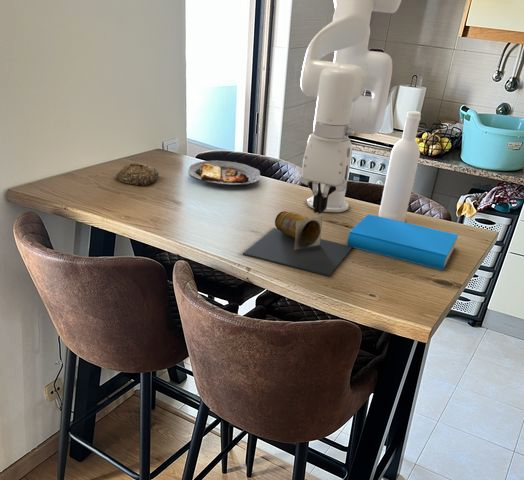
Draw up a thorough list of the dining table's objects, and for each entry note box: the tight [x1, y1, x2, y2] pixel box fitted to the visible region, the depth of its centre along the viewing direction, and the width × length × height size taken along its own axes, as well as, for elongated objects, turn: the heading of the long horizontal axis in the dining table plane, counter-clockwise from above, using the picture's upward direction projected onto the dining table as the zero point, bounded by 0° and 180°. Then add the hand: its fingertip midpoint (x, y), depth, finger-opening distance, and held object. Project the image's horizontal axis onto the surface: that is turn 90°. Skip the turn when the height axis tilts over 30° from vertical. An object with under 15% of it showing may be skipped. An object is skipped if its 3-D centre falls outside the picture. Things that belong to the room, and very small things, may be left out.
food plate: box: [187, 160, 261, 186], centre depth 185 cm, size 25×23×4 cm
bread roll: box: [115, 162, 159, 187], centre depth 176 cm, size 13×12×5 cm
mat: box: [242, 227, 354, 278], centre depth 140 cm, size 20×22×1 cm
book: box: [346, 213, 459, 271], centre depth 147 cm, size 17×4×25 cm
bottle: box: [378, 110, 422, 223], centre depth 156 cm, size 8×8×30 cm
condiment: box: [274, 210, 323, 250], centre depth 144 cm, size 7×8×12 cm
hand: (319, 211), depth 133 cm, fingers closed
